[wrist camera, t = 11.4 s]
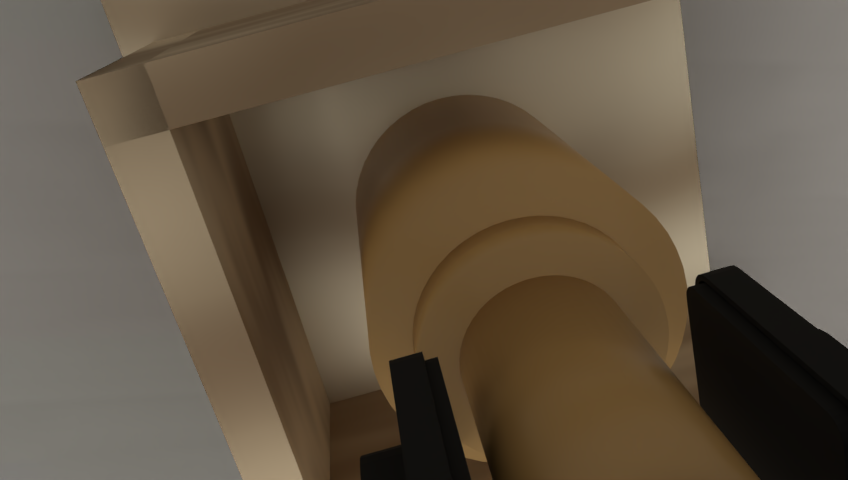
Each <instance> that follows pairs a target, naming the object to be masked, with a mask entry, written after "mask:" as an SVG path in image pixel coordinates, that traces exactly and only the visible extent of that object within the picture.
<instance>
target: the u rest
mask: <svg viewBox="0 0 848 480" xmlns="http://www.w3.org/2000/svg"><path fill="white" fill-rule="evenodd" d="M101 3H102V5H103V8H104V10H105V13H106V15H107V18H108V20H109V23H110V26H111V28H112V31H113V33H114V36H115V38H116V41H117V43H118V46H119V49H120V51H121V54H122V56H123V58H121V59H119V60H117V61H115V62H113V63H111V64H109V65H107V66H105V67H103V68H101V69H99V70H97V71H95V72H93V73H91V74H90V75H88V76H86V77H84V78H82V79H80V80H78V81H76V83H77V85H78V88H79V90H80V93H81V95H82V97H83V100H84V102H85V105H86V107H87V109H88V112H89V114H90V116H91V119H92V121H93V124H94V126H95V128H96V131H97V133H98V136H99V138H100V140H101V143H102V145H103V147H104V150H105V152H106V155H107V157H108V159H109V162H110V164H111V167H112V169H113V171H114V174H115V176H116V178H117V181H118V183H119V186H120V188H121V190H122V193H123V195H124V198H125V200H126V202H127V205H128V207H129V209H130V212H131V214H132V217H133V219H134V221H135V224H136V226H137V229H138V231H139V233H140V236H141V238H142V240H143V243H144V245H145V248H146V250H147V252H148V255H149V257H150V260H151V262H152V264H153V267H154V269H155V271H156V274H157V276H158V279H159V281H160V283H161V286H162V288H163V291H164V293H165V295H166V298H167V300H168V302H169V305H170V307H171V310H172V312H173V314H174V317H175V319H176V321H177V324H178V326H179V329H180V331H181V333H182V336H183V338H184V341H185V343H186V345H187V348H188V350H189V352H190V355H191V357H192V360H193V362H194V364H195V367H196V369H197V372H198V374H199V376H200V379H201V381H202V383H203V386H204V388H205V391H206V393H207V395H208V398H209V400H210V403H211V405H212V407H213V410H214V412H215V414H216V417H217V419H218V422H219V424H220V426H221V429H222V431H223V434H224V436H225V438H226V441H227V443H228V445H229V448H230V450H231V453H232V455H233V457H234V460H235V462H236V465H237V467H238V469H239V472H240V474H241V476H242V479H243V480H361V476H360V457H361V456H362V455H365V454H369V453H373V452H376V451H380V450H383V449H387V448H390V447H394V446H398V445H401V441H400V434H399V427H398V421H397V414H396V412H395V410H394V409H393V408H392V407H391V405H390V404H389V402H388V400H387V399H386V397H385V395H384V393H383V392H382V390H381V388H380V385H379V383H378V380H377V378H376V375H375V373H374V369H373V365H372V361H371V356H370V350H369V340H368V330H367V319H366V309H365V299H364V289H363V278H362V268H361V258H360V247H359V237H358V227H357V216H356V191H357V186H358V181H359V177H360V174H361V171H362V168H363V165H364V163H365V161H366V159H367V157H368V155H369V153H370V151H371V149H372V148H373V146H374V145H375V143H376V142H377V140H378V139H379V138H380V137H381V136H382V134H383V133H384V132H385V131H386V130H387V129H388V128H389V127H390V126H391V125H392V124H393V123H395V122H396V121H397V120H398V119H399V118H401V117H402V116H404V115H405V114H407V113H408V112H410V111H411V110H413V109H415V108H417V107H419V106H421V105H423V104H425V103H428V102H431V101H434V100H437V99H440V98H445V97H450V96H456V95H482V96H488V97H493V98H498V99H501V100H503V101H506V102H509V103H512V104H514V105H516V106H517V107H519V108H521V109H523V110H525V111H526V112H528V113H529V114H530V115H532V116H533V117H535V118H536V119H537V120H538V121H540V122H541V123H542V124H543V125H545V126H546V127H547V128H548V129H550V130H551V131H552V132H553V133H555V134H556V135H557V136H558V137H560V138H561V139H562V140H563V141H565V142H566V143H567V144H568V145H569V146H571V147H572V148H573V149H574V150H576V151H577V152H578V153H579V154H581V155H582V156H583V157H584V158H586V159H587V160H588V161H589V162H591V163H592V164H593V165H594V166H596V167H597V168H598V169H599V170H601V171H602V172H603V173H604V174H605V175H607V176H608V177H609V178H610V179H612V180H613V181H614V182H615V183H617V184H618V185H619V186H620V187H622V188H623V189H624V190H625V191H627V192H628V193H629V194H630V195H632V196H633V197H634V198H635V199H637V200H638V201H639V202H640V203H641V204H643V205H644V206H645V207H646V208H647V209H648V210H649V211H650V212H651V213H652V214H653V215H654V216H655V217H656V218H657V219H658V221H659V222H660V223H661V224H662V226H663V227H664V228H665V230H666V231H667V232H668V234H669V236H670V238H671V239H672V241H673V243H674V245H675V247H676V249H677V251H678V254H679V256H680V259H681V262H682V265H683V268H684V273H685V278H686V283H687V288H688V287H690V286H694V285H695V280H696V277H697V276H698V275H699V274H703V273H706V272H710V267H709V258H708V249H707V240H706V231H705V222H704V213H703V204H702V195H701V186H700V177H699V168H698V159H697V150H696V141H695V132H694V123H693V114H692V105H691V96H690V87H689V78H688V69H687V60H686V51H685V42H684V33H683V24H682V15H681V6H680V0H101ZM671 371H672V372H673V373H674V374H675V375H676V377H677V378H678V379H679V380H680V382H681V383H682V384H683V385H684V387H685V388H686V389H687V390H688V391H689V393H690V394H691V395H692V396H693V398H694V399H695V400H696V401H697V402H698V404H699V405H700V401H699V393H698V385H697V377H696V369H695V361H694V353H693V345H692V337H691V329H690V322H689V314H688V310H687V322H686V327H685V331H684V336H683V340H682V343H681V346H680V349H679V351H678V354H677V357H676V359H675V361H674V363H673V365H672V367H671ZM466 462H467V465H468V469H469V472H470V476H471V480H493V479H492V476H491V473H490V470H489V466H488V463H487V462H482V461H477V460H473V459H469V458H466Z"/></svg>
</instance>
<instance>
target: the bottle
mask: <svg viewBox="0 0 848 480" xmlns="http://www.w3.org/2000/svg"><path fill="white" fill-rule="evenodd" d="M356 216H357V227H358V237H359V247H360V258H361V268H362V278H363V289H364V299H365V309H366V319H367V330H368V340H369V350H370V356H371V361H372V365H373V369H374V373H375V375H376V378H377V380H378V383H379V385H380V388H381V390H382V392H383V393H384V395H385V397H386V399H387V400H388V402H389V404H390V405H391V407H392V408H393V409H394V410H395V412H396V407H395V400H394V394H393V387H392V380H391V373H390V367H389V361H390V360H393V359H397V358H400V357H404V356H408V355H411V354H415V353H418V352H422V353H423V356H424V359H425V360H428V359H431V358H435V357H438V360H439V364H440V367H441V371H442V374H443V378H444V382H445V385H446V389H447V393H448V396H449V400H450V403H451V407H452V411H453V414H454V418H455V422H456V425H457V429H458V432H459V436H460V440H461V443H462V447H463V451H464V454H465V458H469V459H473V460H477V461H482V462H487V463H488V466H489V470H490V473H491V476H492V479H493V480H760V478H759V477H758V476H757V475H756V474H755V472H754V471H753V470H752V469H751V467H750V466H749V465H748V464H747V462H746V461H745V460H744V459H743V458H742V456H741V455H740V454H739V453H738V451H737V450H736V449H735V448H734V447H733V445H732V444H731V443H730V442H729V440H728V439H727V438H726V437H725V436H724V434H723V433H722V432H721V431H720V429H719V428H718V427H717V426H716V424H715V423H714V422H713V421H712V420H711V418H710V417H709V416H708V415H707V413H706V412H705V411H704V410H703V409H702V407H701V406H700V405H699V404H698V402H697V401H696V400H695V399H694V398H693V396H692V395H691V394H690V393H689V391H688V390H687V389H686V388H685V387H684V385H683V384H682V383H681V382H680V380H679V379H678V378H677V377H676V375H675V374H674V373H673V372H672V371H671V367H672V365H673V363H674V361H675V359H676V357H677V354H678V351H679V349H680V346H681V343H682V340H683V336H684V331H685V327H686V322H687V310H688V306H687V297H686V291H687V283H686V278H685V273H684V268H683V265H682V262H681V259H680V256H679V254H678V251H677V249H676V247H675V245H674V243H673V241H672V239H671V238H670V236H669V234H668V232H667V231H666V230H665V228H664V227H663V226H662V224H661V223H660V222H659V221H658V219H657V218H656V217H655V216H654V215H653V214H652V213H651V212H650V211H649V210H648V209H647V208H646V207H645V206H644V205H643V204H641V203H640V202H639V201H638V200H637V199H635V198H634V197H633V196H632V195H630V194H629V193H628V192H627V191H625V190H624V189H623V188H622V187H620V186H619V185H618V184H617V183H615V182H614V181H613V180H612V179H610V178H609V177H608V176H607V175H605V174H604V173H603V172H602V171H601V170H599V169H598V168H597V167H596V166H594V165H593V164H592V163H591V162H589V161H588V160H587V159H586V158H584V157H583V156H582V155H581V154H579V153H578V152H577V151H576V150H574V149H573V148H572V147H571V146H569V145H568V144H567V143H566V142H565V141H563V140H562V139H561V138H560V137H558V136H557V135H556V134H555V133H553V132H552V131H551V130H550V129H548V128H547V127H546V126H545V125H543V124H542V123H541V122H540V121H538V120H537V119H536V118H535V117H533V116H532V115H530V114H529V113H528V112H526V111H525V110H523V109H521V108H519V107H517V106H516V105H514V104H512V103H509V102H506V101H503V100H501V99H498V98H493V97H488V96H482V95H456V96H450V97H445V98H440V99H437V100H434V101H431V102H428V103H425V104H423V105H421V106H419V107H417V108H415V109H413V110H411V111H410V112H408V113H407V114H405V115H404V116H402V117H401V118H399V119H398V120H397V121H396V122H395V123H393V124H392V125H391V126H390V127H389V128H388V129H387V130H386V131H385V132H384V133H383V134H382V136H381V137H380V138H379V139H378V140H377V142H376V143H375V145H374V146H373V148H372V149H371V151H370V153H369V155H368V157H367V159H366V161H365V163H364V165H363V168H362V171H361V174H360V177H359V181H358V186H357V191H356Z"/></svg>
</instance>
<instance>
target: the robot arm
mask: <svg viewBox="0 0 848 480" xmlns="http://www.w3.org/2000/svg"><path fill="white" fill-rule="evenodd" d="M686 297H687V306H688V314H689V322H690V329H691V337H692V345H693V353H694V361H695V369H696V377H697V385H698V393H699V401H700V406H701V407H702V409H703V410H704V411H705V412H706V413H707V415H708V416H709V417H710V418H711V420H712V421H713V422H714V423H715V424H716V426H717V427H718V428H719V429H720V431H721V432H722V433H723V434H724V436H725V437H726V438H727V439H728V440H729V442H730V443H731V444H732V445H733V447H734V448H735V449H736V450H737V451H738V453H739V454H740V455H741V456H742V458H743V459H744V460H745V461H746V462H747V464H748V465H749V466H750V467H751V469H752V470H753V471H754V472H755V474H756V475H757V476H758V477H759V478H760V480H848V349H847V348H846V347H845V346H843V345H842V344H841V343H840V342H838V341H837V340H836V339H834V338H833V337H832V336H830V335H829V334H828V333H826V332H824V331H822V330H820V329H817V328H816V327H814V326H813V325H812V324H810V323H809V322H808V321H807V320H805V319H804V318H803V317H801V316H800V315H799V314H797V313H796V312H795V311H794V310H792V309H791V308H790V307H788V306H787V305H786V304H784V303H783V302H782V301H781V300H779V299H778V298H777V297H775V296H774V295H773V294H772V293H770V292H769V291H768V290H766V289H765V288H764V287H762V286H761V285H760V284H759V283H757V282H756V281H755V280H753V279H752V278H751V277H749V276H748V275H747V274H746V273H744V272H743V271H742V270H740V269H739V268H738V267H736V266H734V265H733V266H728V267H724V268H721V269H717V270H714V271H710V272H706V273H703V274H699V275H698V276H697V277H696V280H695V285H694V286H690V287H688V288H687V291H686ZM389 367H390V373H391V380H392V387H393V394H394V400H395V407H396V414H397V421H398V427H399V434H400V441H401V445H398V446H394V447H390V448H387V449H383V450H380V451H376V452H373V453H369V454H365V455H362V456H361V457H360V476H361V480H471V476H470V472H469V469H468V465H467V462H466V458H465V454H464V451H463V447H462V443H461V440H460V436H459V432H458V429H457V425H456V422H455V418H454V414H453V411H452V407H451V403H450V400H449V396H448V393H447V389H446V385H445V382H444V378H443V374H442V371H441V367H440V364H439V360H438V357H435V358H431V359H428V360H425V359H424V356H423V353H422V352H418V353H415V354H411V355H408V356H404V357H400V358H397V359H393V360H390V361H389Z"/></svg>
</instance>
